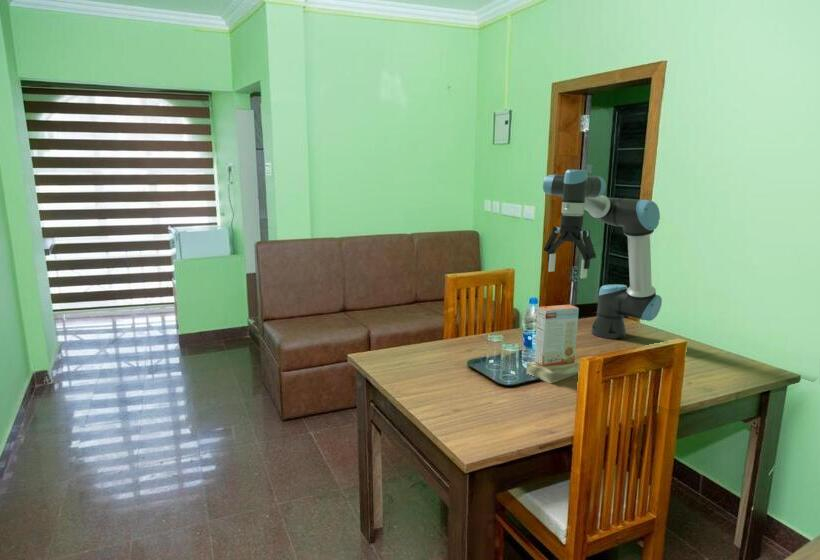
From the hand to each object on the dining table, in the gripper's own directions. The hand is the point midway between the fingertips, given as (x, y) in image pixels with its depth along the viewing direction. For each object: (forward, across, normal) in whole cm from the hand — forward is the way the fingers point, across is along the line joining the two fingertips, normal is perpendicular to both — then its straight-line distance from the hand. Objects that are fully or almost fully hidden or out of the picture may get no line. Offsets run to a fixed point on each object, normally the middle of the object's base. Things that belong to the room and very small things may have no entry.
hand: (566, 274), depth 194 cm
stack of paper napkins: (+37, 0, -3) cm, 37 cm away
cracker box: (+33, 0, -3) cm, 33 cm away
